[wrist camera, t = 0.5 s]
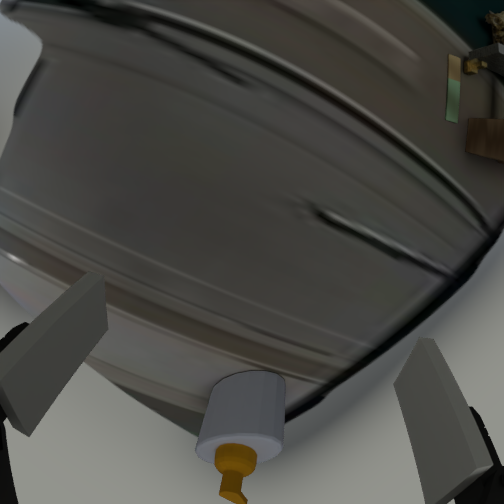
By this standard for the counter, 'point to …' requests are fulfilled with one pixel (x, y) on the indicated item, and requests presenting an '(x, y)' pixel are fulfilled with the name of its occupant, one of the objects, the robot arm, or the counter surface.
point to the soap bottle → (242, 427)
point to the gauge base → (474, 120)
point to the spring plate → (490, 57)
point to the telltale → (473, 66)
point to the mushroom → (496, 26)
